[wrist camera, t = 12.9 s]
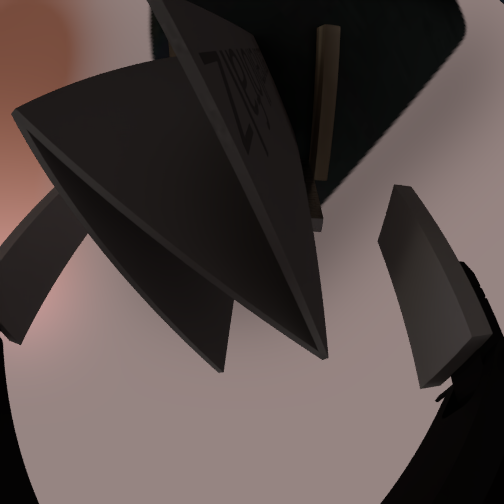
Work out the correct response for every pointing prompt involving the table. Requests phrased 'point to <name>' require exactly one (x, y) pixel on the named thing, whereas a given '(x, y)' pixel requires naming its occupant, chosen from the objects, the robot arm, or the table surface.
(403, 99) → the table surface
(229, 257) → the brochure
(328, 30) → the slot rails
